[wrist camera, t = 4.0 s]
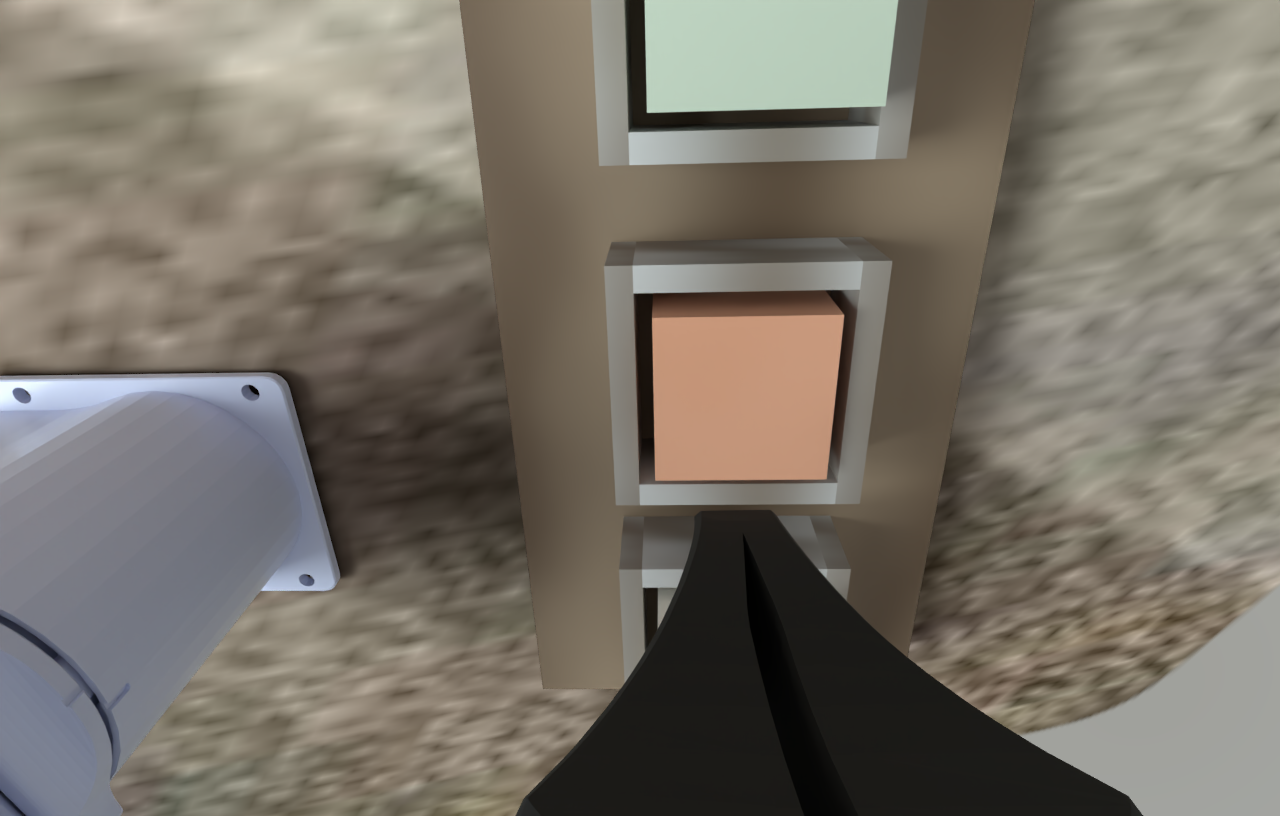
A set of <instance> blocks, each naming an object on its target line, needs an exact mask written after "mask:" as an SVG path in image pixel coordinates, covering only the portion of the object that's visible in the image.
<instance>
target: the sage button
mask: <svg viewBox="0 0 1280 816" xmlns="http://www.w3.org/2000/svg"><path fill="white" fill-rule="evenodd" d="M897 6H898V0H645V40H646V91H647V113H658V112H695V111H732V110H768V109H805V108H842V107H878V106H886V98H887V90H888V82H889V73H890V65H891V56H892V48H893V40H894V31H895V23H896V14H897Z"/></svg>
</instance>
